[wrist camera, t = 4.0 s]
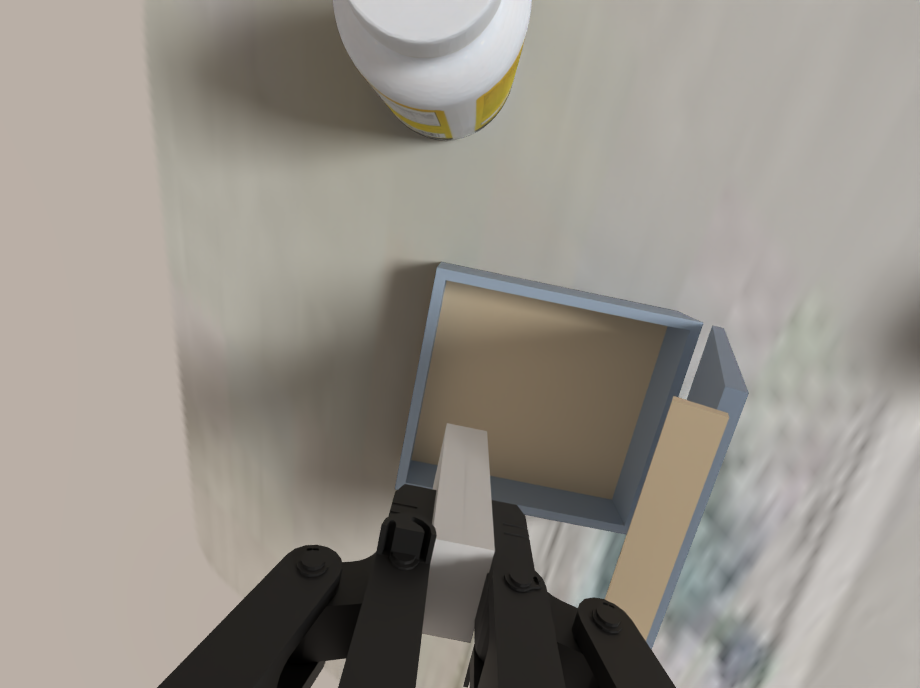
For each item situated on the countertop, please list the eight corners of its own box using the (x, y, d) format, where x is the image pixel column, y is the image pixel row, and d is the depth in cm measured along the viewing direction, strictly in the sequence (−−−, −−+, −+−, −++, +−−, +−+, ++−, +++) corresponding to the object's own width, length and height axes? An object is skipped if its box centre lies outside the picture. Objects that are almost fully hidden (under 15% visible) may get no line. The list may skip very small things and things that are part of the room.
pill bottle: (520, 0, 23) (565, -212, 11) (506, 148, 24) (535, 88, 13) (381, -10, 23) (292, -232, 12) (376, 138, 24) (295, 70, 13)
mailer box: (440, 261, 26) (437, 267, 23) (677, 311, 26) (703, 322, 23) (402, 463, 29) (394, 490, 26) (614, 505, 29) (630, 537, 26)
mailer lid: (679, 379, 11) (752, 401, 11) (690, 319, 23) (723, 328, 23) (550, 762, 14) (600, 796, 14) (619, 531, 26) (647, 544, 26)
